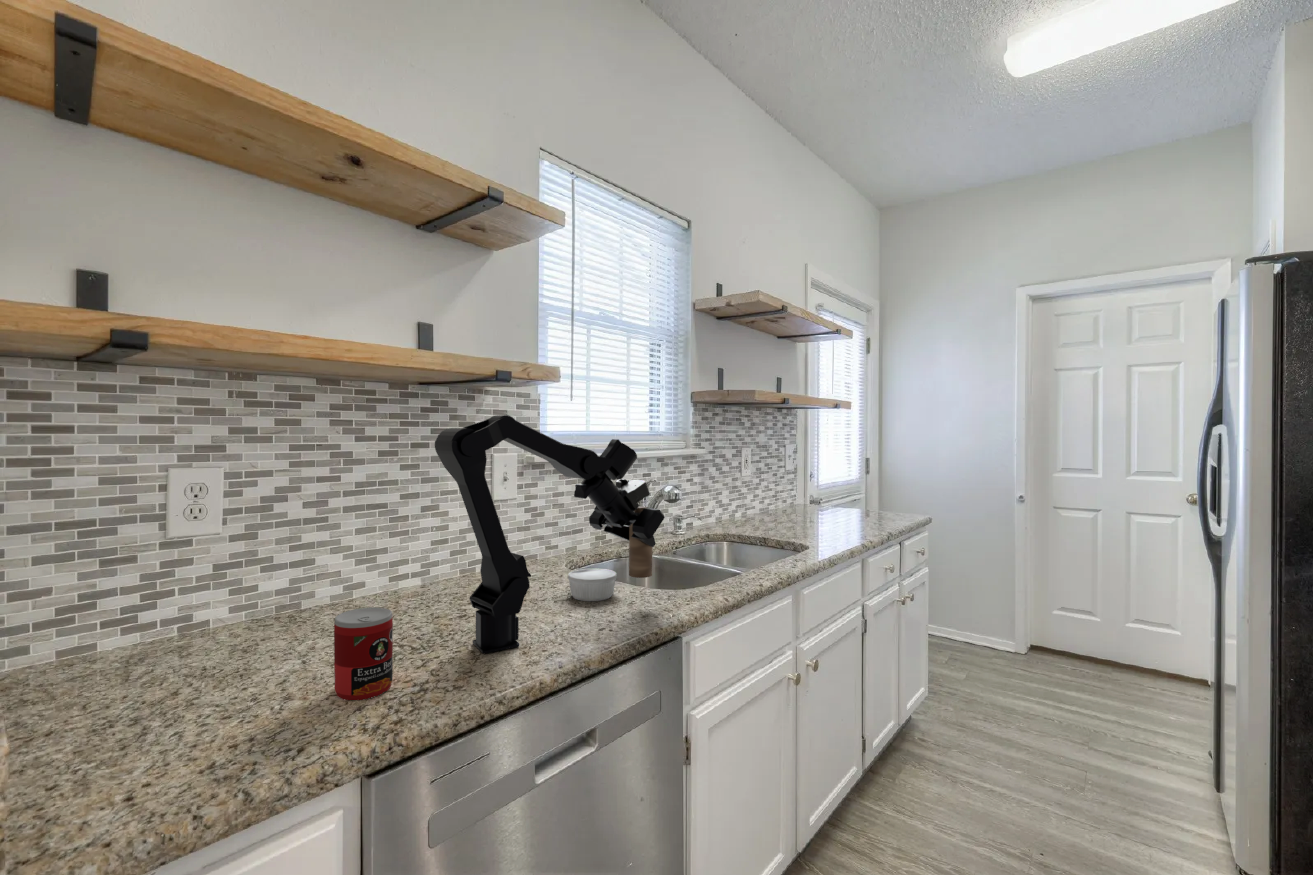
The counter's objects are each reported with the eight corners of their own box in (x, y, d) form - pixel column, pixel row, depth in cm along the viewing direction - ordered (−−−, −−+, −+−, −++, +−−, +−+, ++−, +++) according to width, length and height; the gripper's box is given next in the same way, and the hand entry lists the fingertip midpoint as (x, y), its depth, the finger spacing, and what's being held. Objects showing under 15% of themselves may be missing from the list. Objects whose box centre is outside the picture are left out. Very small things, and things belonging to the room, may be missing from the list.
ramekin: (589, 587, 145) (590, 565, 145) (626, 594, 139) (626, 572, 139) (557, 597, 136) (557, 574, 136) (594, 606, 130) (595, 582, 130)
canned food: (354, 706, 82) (354, 627, 82) (322, 692, 87) (322, 617, 86) (404, 686, 89) (404, 612, 89) (372, 674, 93) (372, 604, 93)
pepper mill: (636, 578, 126) (637, 509, 126) (624, 574, 130) (625, 506, 130) (656, 575, 129) (657, 508, 129) (644, 571, 133) (644, 505, 133)
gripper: (658, 469, 120) (695, 519, 127) (600, 465, 133) (636, 510, 141) (628, 512, 114) (668, 562, 122) (570, 503, 128) (610, 548, 136)
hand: (645, 543), depth 130 cm, fingers closed on pepper mill, 5 cm apart
